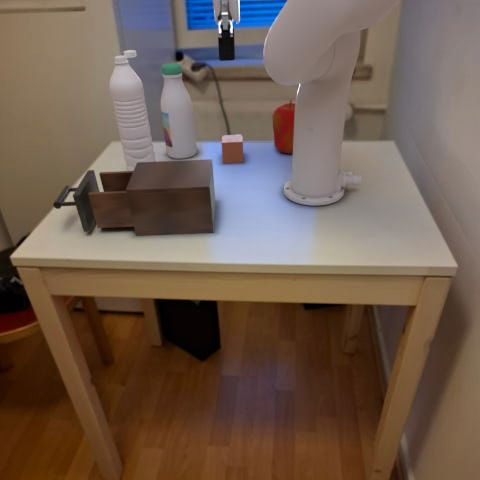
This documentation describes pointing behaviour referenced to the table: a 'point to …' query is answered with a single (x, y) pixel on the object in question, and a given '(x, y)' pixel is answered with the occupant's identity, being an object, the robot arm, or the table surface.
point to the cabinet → (172, 197)
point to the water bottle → (131, 112)
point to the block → (232, 148)
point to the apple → (284, 127)
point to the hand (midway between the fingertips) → (227, 54)
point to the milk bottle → (177, 114)
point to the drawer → (100, 200)
